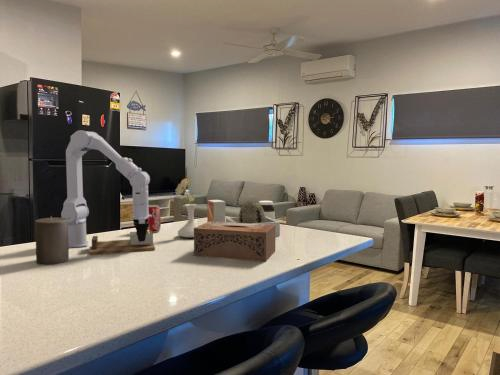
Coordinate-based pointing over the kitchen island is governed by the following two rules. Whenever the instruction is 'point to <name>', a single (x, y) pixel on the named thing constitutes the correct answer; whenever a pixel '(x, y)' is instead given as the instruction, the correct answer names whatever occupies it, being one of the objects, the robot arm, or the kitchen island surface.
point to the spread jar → (268, 209)
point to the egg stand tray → (267, 221)
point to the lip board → (117, 246)
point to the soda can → (154, 218)
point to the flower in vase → (190, 225)
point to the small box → (215, 210)
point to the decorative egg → (251, 212)
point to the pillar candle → (51, 240)
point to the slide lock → (135, 241)
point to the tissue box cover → (235, 240)
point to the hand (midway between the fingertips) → (141, 239)
